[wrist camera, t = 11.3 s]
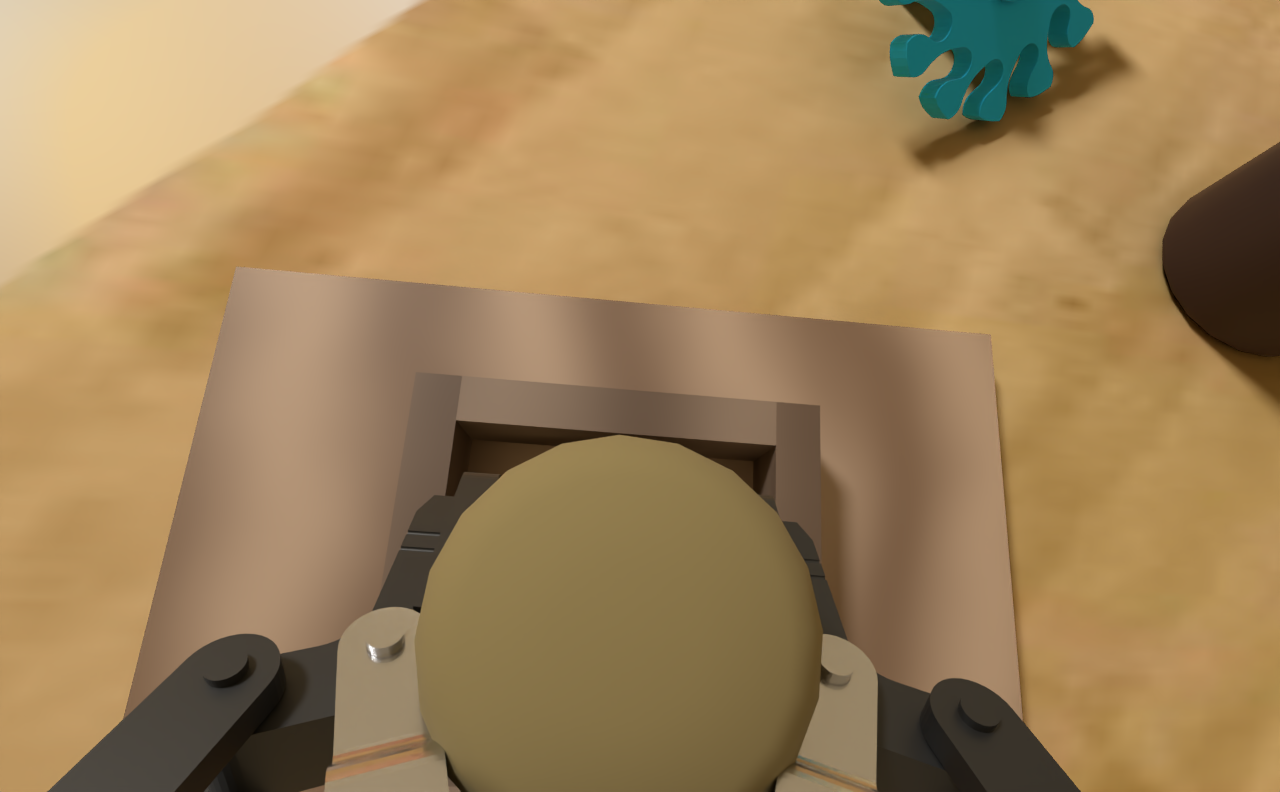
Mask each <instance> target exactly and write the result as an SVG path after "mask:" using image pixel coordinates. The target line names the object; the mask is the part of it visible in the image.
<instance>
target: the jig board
mask: <svg viewBox="0 0 1280 792" xmlns="http://www.w3.org/2000/svg"><path fill="white" fill-rule="evenodd" d="M615 435H625V436H631V437H638V438H644V439H651V440H657V441H664V442H670V443H677V444H680V445H682V446H684V447H686V448H688V449H690V450H692V451H694V452H696V453H698V454H700V455H702V456H704V457H706V458H708V459H710V460H712V461H714V462H716V463H718V464H720V465H722V466H724V467H726V468H728V469H730V470H732V471H734V472H735V473H736V474H737V475H738V476H739V477H740V478H741V479H742V480H743V481H744V482H745V483H746V484H747V485H748V486H749V487H750V488H751V489H753V490H754V491H755V492H756V493H757V494H758V495H771V496H773V498H774V500H775V504H776V507H777V510H778V514H779V517H780V519H781V521H788V522H797V523H798V524H799V525H800V526H801V528H802V529H803V530H804V531H805V532H806V533H807V534H808V535H809V537H810V538H811V539H812V540H813V542H814V545H815V548H816V551H817V554H818V557H819V563H820V564H821V565H822V568H823V571H824V574H825V580H827V582H828V585H829V588H830V591H831V594H832V597H833V600H834V602H835V605H836V608H837V611H838V614H839V617H840V620H841V622H842V625H843V628H844V631H845V634H846V637H847V639H848V641H849V642H851V643H852V644H854V645H855V646H857V647H858V648H859V649H860V650H861V651H863V652H864V654H865V655H866V656H867V657H868V658H869V659H870V661H871V662H872V664H873V666H874V668H875V670H876V672H877V673H878V674H880V675H882V676H884V677H886V678H888V679H890V680H893V681H895V682H898V683H901V684H904V685H907V686H910V687H913V688H916V689H919V690H922V691H925V692H928V693H931V691H932V689H933V687H934V686H935V685H936V684H937V683H938V682H940V681H942V680H945V679H949V678H962V679H966V680H970V681H973V682H976V683H979V684H981V685H983V686H985V687H987V688H988V689H990V690H992V691H993V692H995V693H996V694H997V695H999V696H1000V697H1001V698H1002V699H1003V700H1005V701H1006V702H1007V703H1008V704H1009V706H1010V707H1011V708H1012V709H1013V710H1014V711H1015V713H1016V714H1017V715H1018V716H1019V717H1020V719H1021V720H1022V721H1023V716H1022V704H1021V692H1020V680H1019V668H1018V656H1017V644H1016V632H1015V620H1014V608H1013V596H1012V584H1011V572H1010V560H1009V548H1008V536H1007V524H1006V512H1005V500H1004V488H1003V476H1002V464H1001V452H1000V440H999V428H998V416H997V404H996V392H995V380H994V368H993V356H992V344H991V335H988V334H977V333H966V332H955V331H944V330H932V329H921V328H910V327H899V326H888V325H877V324H866V323H855V322H844V321H833V320H822V319H811V318H800V317H788V316H777V315H766V314H755V313H744V312H733V311H722V310H711V309H700V308H689V307H678V306H667V305H656V304H644V303H633V302H622V301H611V300H600V299H589V298H578V297H567V296H556V295H545V294H534V293H523V292H512V291H500V290H489V289H478V288H467V287H456V286H445V285H434V284H423V283H412V282H401V281H390V280H379V279H368V278H356V277H345V276H334V275H323V274H312V273H301V272H290V271H279V270H268V269H257V268H246V267H236V270H235V274H234V278H233V282H232V286H231V290H230V294H229V298H228V302H227V306H226V310H225V314H224V318H223V322H222V326H221V330H220V334H219V338H218V342H217V346H216V350H215V354H214V358H213V362H212V366H211V370H210V374H209V378H208V382H207V386H206V390H205V394H204V398H203V402H202V406H201V410H200V414H199V418H198V422H197V426H196V430H195V434H194V438H193V442H192V446H191V450H190V454H189V458H188V462H187V466H186V470H185V474H184V478H183V482H182V486H181V490H180V494H179V498H178V502H177V506H176V510H175V514H174V518H173V522H172V526H171V530H170V534H169V538H168V542H167V546H166V550H165V554H164V558H163V562H162V566H161V570H160V574H159V578H158V582H157V586H156V590H155V594H154V598H153V602H152V606H151V610H150V614H149V618H148V622H147V626H146V630H145V634H144V638H143V642H142V646H141V650H140V654H139V658H138V662H137V666H136V670H135V674H134V678H133V682H132V686H131V690H130V694H129V698H128V702H127V706H126V710H125V714H124V718H125V717H126V716H127V715H128V714H130V713H131V712H132V711H133V710H134V709H135V708H136V707H137V706H138V705H139V704H140V703H141V702H142V701H143V700H144V699H145V698H146V697H147V696H148V695H149V694H151V693H152V692H153V691H154V690H155V689H156V688H157V687H158V686H159V685H160V684H161V683H162V682H163V681H164V680H165V679H166V678H167V677H168V676H169V675H170V674H171V673H173V672H174V671H175V670H176V669H177V668H178V667H179V666H180V665H181V664H182V663H183V662H184V661H185V660H186V659H187V658H188V657H190V656H191V655H192V654H193V653H194V652H196V651H197V650H199V649H200V648H202V647H203V646H205V645H207V644H209V643H211V642H213V641H216V640H218V639H220V638H224V637H227V636H231V635H236V634H257V635H262V636H264V637H267V638H269V639H270V640H272V641H273V642H274V643H275V644H276V645H277V647H278V649H279V651H280V654H282V653H286V652H291V651H296V650H301V649H306V648H311V647H316V646H320V645H324V644H328V643H331V642H333V641H336V640H338V639H340V638H341V636H342V635H343V633H344V632H345V630H346V629H347V628H348V627H349V626H350V625H351V624H352V623H353V622H354V621H355V620H357V619H358V618H360V617H361V616H363V615H365V614H367V613H369V612H372V610H373V608H374V606H375V603H376V601H377V599H378V597H379V594H380V592H381V590H382V588H383V585H384V583H385V581H386V578H387V576H388V574H389V572H390V569H391V567H392V565H393V563H394V560H395V558H396V556H397V554H398V551H399V550H400V549H401V545H402V542H403V540H404V538H405V536H406V534H408V529H409V527H410V524H411V522H412V520H413V518H414V515H415V513H416V511H417V510H418V509H419V508H420V507H422V506H423V505H424V504H425V503H426V502H427V501H428V500H429V499H431V498H432V497H433V496H434V495H441V496H455V493H456V490H457V488H458V485H459V482H460V480H461V477H462V475H463V473H464V472H474V473H487V474H500V475H501V476H502V475H503V474H504V473H505V472H506V471H508V470H510V469H512V468H514V467H516V466H518V465H520V464H522V463H524V462H526V461H528V460H530V459H532V458H534V457H536V456H538V455H540V454H542V453H544V452H546V451H548V450H550V449H552V448H554V447H556V446H558V445H560V444H563V443H570V442H576V441H583V440H589V439H596V438H602V437H608V436H615ZM124 718H123V719H124ZM447 777H448V776H447ZM448 787H449V792H461V791H460V790H459V789H458V788H457V787H456V786H455V784H454V783H453V782H452V781H451V780H450V779H449V778H448ZM324 789H325V785H323V786H319V787H315V788H311V789H308V790H304V791H300V792H324Z"/></svg>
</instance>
